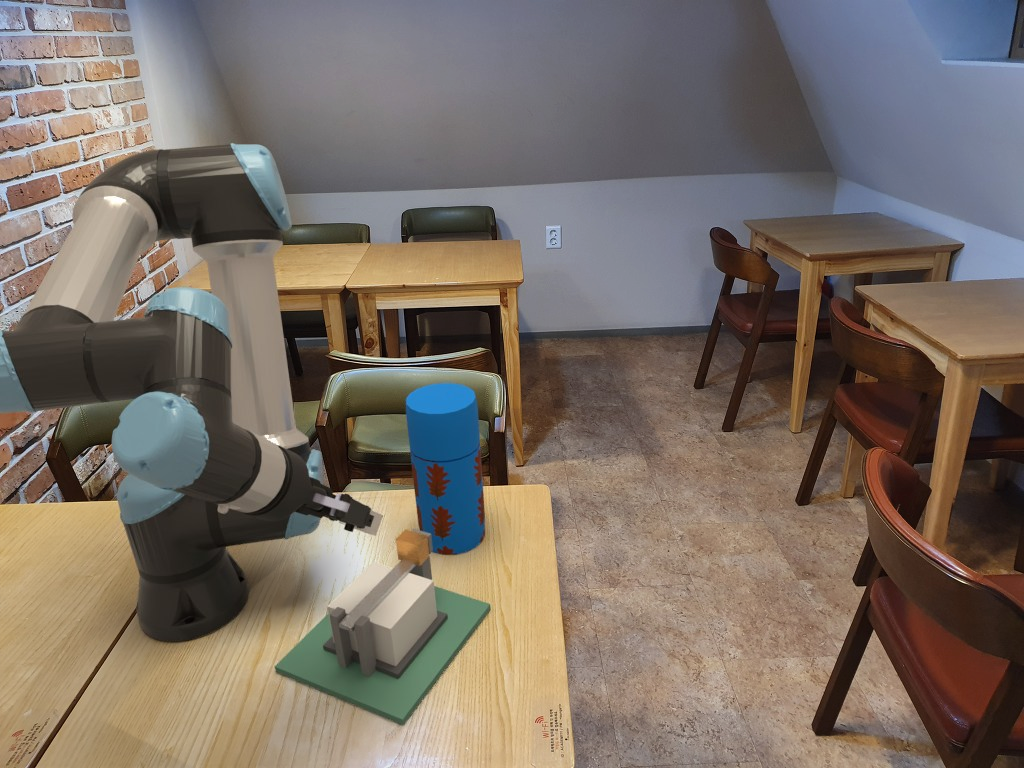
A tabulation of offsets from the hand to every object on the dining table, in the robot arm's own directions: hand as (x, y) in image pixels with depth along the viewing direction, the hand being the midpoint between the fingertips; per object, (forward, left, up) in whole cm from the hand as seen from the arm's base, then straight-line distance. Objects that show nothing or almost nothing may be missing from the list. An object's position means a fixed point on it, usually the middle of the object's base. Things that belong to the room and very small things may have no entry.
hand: (374, 524), depth 98 cm
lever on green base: (0, -1, -19) cm, 19 cm away
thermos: (-4, +23, -19) cm, 30 cm away
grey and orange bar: (0, 0, -11) cm, 11 cm away
